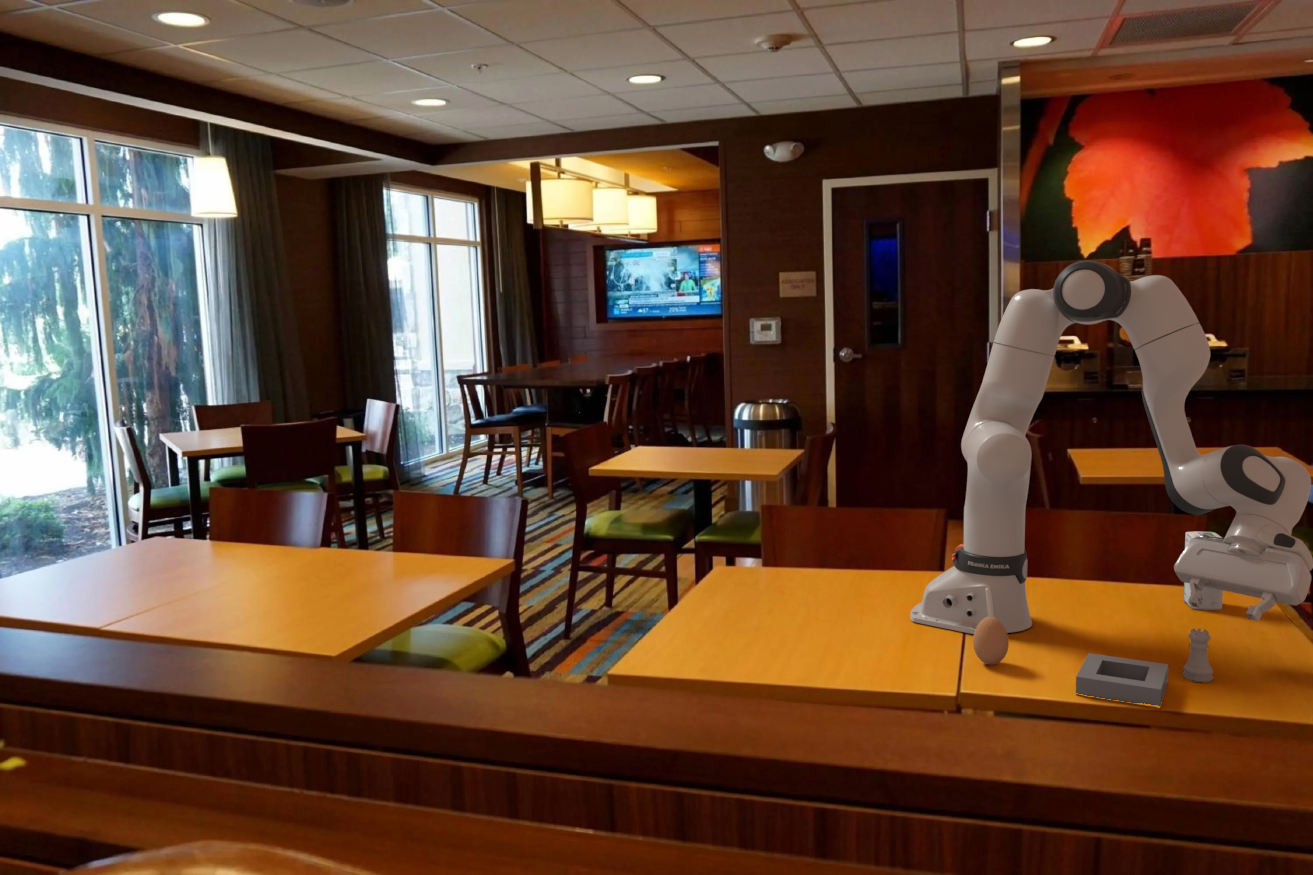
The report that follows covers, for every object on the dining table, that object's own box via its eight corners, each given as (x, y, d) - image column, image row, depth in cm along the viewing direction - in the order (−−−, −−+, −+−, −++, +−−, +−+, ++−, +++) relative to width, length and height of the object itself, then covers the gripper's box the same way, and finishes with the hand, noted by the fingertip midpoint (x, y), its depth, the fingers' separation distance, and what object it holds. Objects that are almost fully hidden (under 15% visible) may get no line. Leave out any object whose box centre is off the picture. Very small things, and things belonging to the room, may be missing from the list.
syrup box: (1223, 610, 202) (1226, 537, 200) (1190, 609, 203) (1193, 537, 201) (1213, 601, 208) (1216, 531, 206) (1181, 601, 209) (1184, 530, 207)
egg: (977, 656, 181) (977, 610, 180) (1011, 661, 178) (1012, 614, 177) (969, 666, 176) (969, 619, 175) (1004, 672, 173) (1004, 623, 172)
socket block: (1075, 694, 163) (1076, 676, 162) (1088, 670, 173) (1088, 653, 172) (1160, 708, 157) (1161, 689, 156) (1167, 682, 167) (1168, 664, 166)
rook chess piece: (1184, 671, 171) (1186, 624, 170) (1215, 676, 169) (1217, 628, 168) (1180, 680, 168) (1182, 632, 166) (1211, 685, 165) (1213, 636, 164)
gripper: (1187, 523, 181) (1154, 587, 177) (1313, 543, 165) (1280, 615, 161) (1199, 543, 185) (1167, 607, 180) (1325, 565, 168) (1293, 636, 164)
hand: (1222, 611), depth 170 cm, fingers open, 8 cm apart
